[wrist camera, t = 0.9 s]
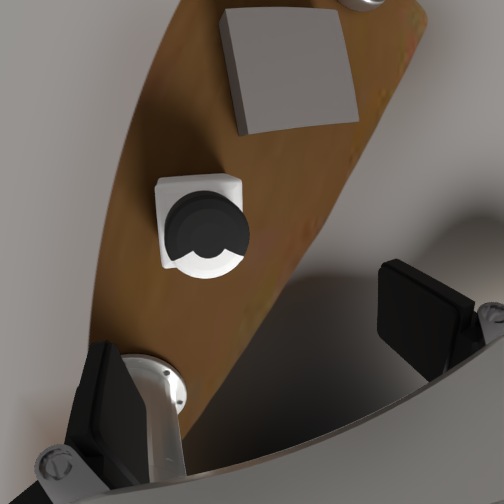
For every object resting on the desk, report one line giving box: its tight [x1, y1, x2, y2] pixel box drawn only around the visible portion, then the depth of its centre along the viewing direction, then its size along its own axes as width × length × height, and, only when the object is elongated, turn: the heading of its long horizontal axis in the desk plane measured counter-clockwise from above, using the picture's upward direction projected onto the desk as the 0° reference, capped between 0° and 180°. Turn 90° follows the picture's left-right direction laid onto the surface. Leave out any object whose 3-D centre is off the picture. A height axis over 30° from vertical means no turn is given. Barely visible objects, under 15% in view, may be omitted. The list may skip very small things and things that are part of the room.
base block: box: [218, 7, 359, 136], centre depth 28 cm, size 13×12×4 cm
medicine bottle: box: [155, 173, 250, 278], centre depth 27 cm, size 7×7×12 cm
